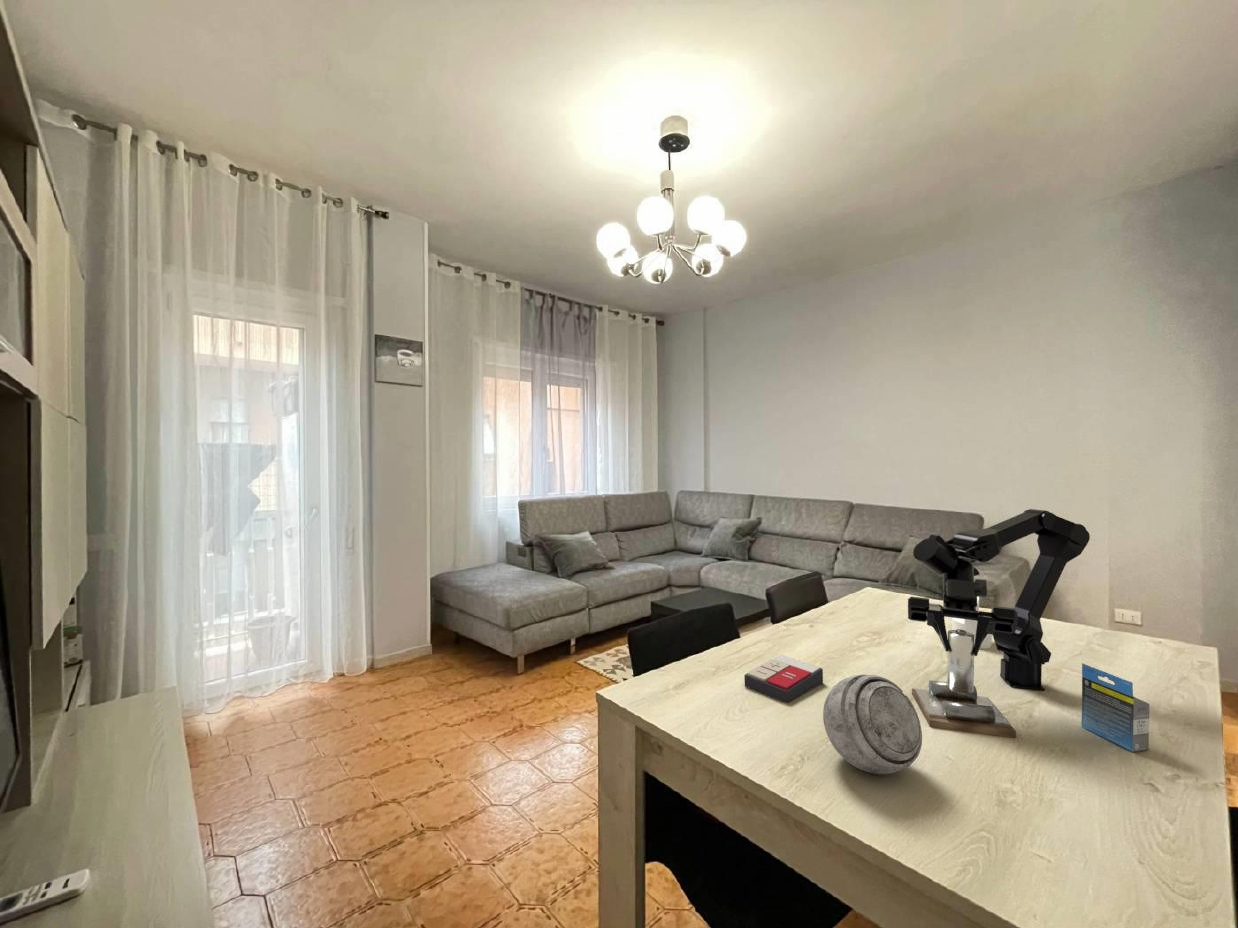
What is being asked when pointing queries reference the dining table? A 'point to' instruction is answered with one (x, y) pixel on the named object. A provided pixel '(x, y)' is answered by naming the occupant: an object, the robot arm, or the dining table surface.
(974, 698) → the hinge leaves
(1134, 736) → the ink cartridge box
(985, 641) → the cylinder with rectangular tab
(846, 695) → the decorative orb
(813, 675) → the calculator
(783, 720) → the dining table surface
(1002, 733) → the board
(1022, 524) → the robot arm
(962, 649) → the hinge barrel
